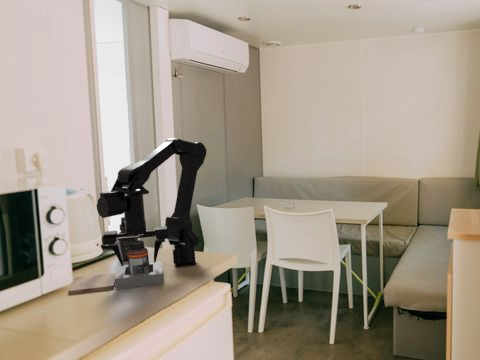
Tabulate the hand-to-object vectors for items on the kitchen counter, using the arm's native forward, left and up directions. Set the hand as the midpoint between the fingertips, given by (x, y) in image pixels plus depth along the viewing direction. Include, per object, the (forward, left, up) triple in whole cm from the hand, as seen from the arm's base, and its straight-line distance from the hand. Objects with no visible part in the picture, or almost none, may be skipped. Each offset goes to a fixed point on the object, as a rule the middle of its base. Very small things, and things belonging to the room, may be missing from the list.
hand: (138, 264), depth 138 cm
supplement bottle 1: (+4, -25, -5) cm, 26 cm away
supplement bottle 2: (0, 0, -5) cm, 5 cm away
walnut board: (+13, 0, -5) cm, 14 cm away
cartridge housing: (0, 0, -5) cm, 5 cm away
